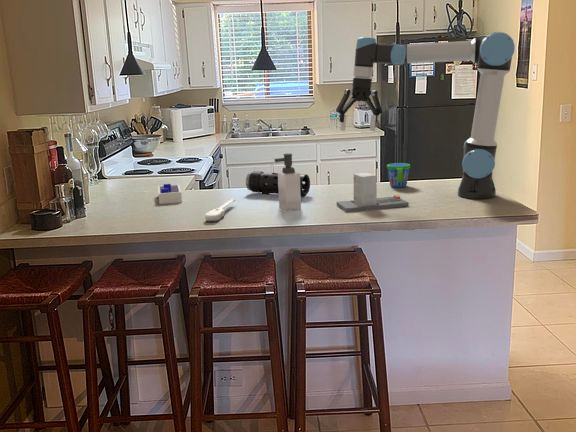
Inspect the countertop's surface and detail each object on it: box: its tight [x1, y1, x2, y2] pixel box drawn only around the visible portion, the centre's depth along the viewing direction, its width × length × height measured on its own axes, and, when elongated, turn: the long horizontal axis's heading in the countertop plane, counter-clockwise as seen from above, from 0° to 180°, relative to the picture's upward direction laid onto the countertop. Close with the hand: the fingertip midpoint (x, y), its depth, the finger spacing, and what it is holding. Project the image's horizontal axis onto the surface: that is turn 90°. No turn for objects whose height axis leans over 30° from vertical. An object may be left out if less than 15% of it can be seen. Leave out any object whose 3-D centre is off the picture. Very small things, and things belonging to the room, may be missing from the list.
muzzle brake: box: [245, 170, 311, 198], centre depth 255 cm, size 10×28×10 cm, turn 64°
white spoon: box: [204, 198, 237, 222], centre depth 227 cm, size 28×6×3 cm, turn 167°
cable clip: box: [161, 183, 172, 193], centre depth 256 cm, size 12×4×6 cm, turn 6°
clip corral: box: [157, 184, 183, 205], centre depth 256 cm, size 10×18×4 cm, turn 13°
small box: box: [353, 172, 378, 207], centre depth 228 cm, size 8×6×13 cm
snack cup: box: [386, 162, 411, 188], centre depth 264 cm, size 16×10×10 cm
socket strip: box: [336, 194, 410, 213], centre depth 230 cm, size 26×12×2 cm, turn 103°
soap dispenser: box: [274, 153, 302, 212], centre depth 228 cm, size 6×9×22 cm
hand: (357, 130), depth 236 cm, fingers open, 13 cm apart
